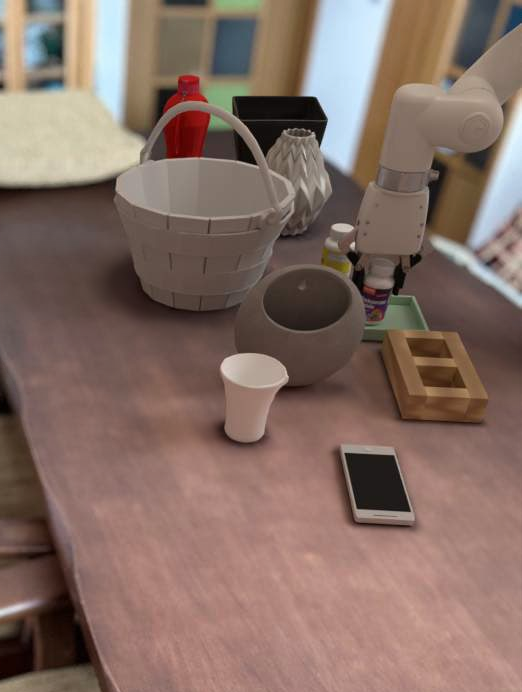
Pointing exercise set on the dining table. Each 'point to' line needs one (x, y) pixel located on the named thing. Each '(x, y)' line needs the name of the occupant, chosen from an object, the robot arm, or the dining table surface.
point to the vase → (301, 176)
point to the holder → (433, 376)
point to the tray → (397, 318)
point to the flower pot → (275, 120)
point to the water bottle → (186, 122)
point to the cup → (250, 393)
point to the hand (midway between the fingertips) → (375, 290)
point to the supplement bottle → (337, 249)
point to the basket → (202, 220)
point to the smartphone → (376, 485)
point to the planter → (302, 321)
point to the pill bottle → (377, 289)
